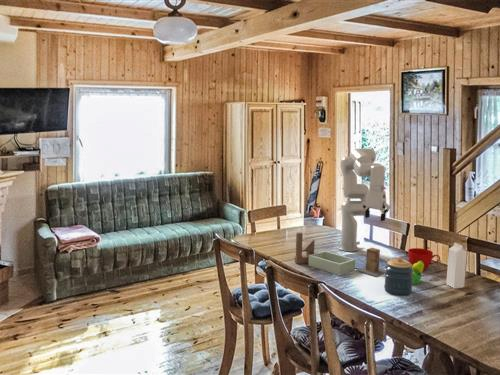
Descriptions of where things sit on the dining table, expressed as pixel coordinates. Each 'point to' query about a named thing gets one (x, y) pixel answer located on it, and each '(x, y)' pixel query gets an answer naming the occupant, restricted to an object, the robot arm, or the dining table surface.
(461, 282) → the milk
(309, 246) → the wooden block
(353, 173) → the robot arm
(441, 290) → the dining table surface
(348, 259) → the box
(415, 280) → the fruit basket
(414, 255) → the ceramic cup
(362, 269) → the felt pad
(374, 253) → the walnut block
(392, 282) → the canister
